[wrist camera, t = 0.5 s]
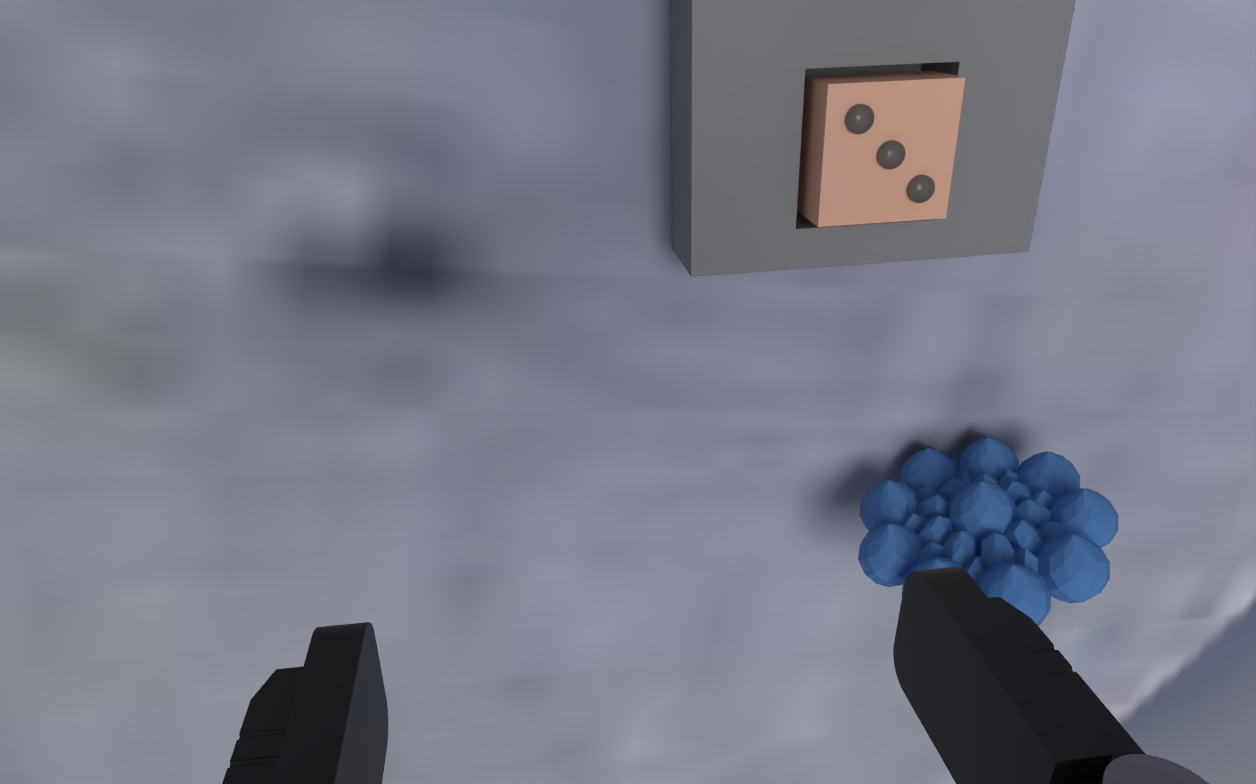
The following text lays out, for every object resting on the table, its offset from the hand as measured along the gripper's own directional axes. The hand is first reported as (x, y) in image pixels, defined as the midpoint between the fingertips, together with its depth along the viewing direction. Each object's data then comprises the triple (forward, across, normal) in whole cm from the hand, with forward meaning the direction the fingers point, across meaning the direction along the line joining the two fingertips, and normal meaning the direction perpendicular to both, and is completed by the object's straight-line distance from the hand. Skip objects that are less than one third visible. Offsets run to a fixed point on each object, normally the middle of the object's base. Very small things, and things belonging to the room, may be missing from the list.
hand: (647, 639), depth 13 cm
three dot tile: (+22, -12, -3) cm, 26 cm away
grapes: (+25, -18, +14) cm, 34 cm away
